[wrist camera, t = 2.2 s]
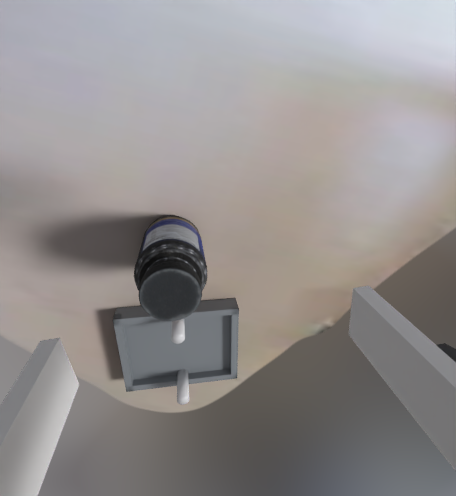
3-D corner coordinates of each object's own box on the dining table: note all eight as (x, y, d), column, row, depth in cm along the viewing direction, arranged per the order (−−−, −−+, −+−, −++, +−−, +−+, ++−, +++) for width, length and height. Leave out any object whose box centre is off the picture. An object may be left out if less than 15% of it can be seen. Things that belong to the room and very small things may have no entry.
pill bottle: (187, 273, 34) (191, 338, 24) (135, 254, 32) (115, 317, 22) (210, 227, 32) (224, 276, 22) (156, 204, 30) (145, 247, 20)
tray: (129, 377, 39) (122, 413, 34) (116, 307, 34) (106, 338, 30) (234, 365, 41) (241, 397, 36) (235, 298, 36) (243, 325, 32)
